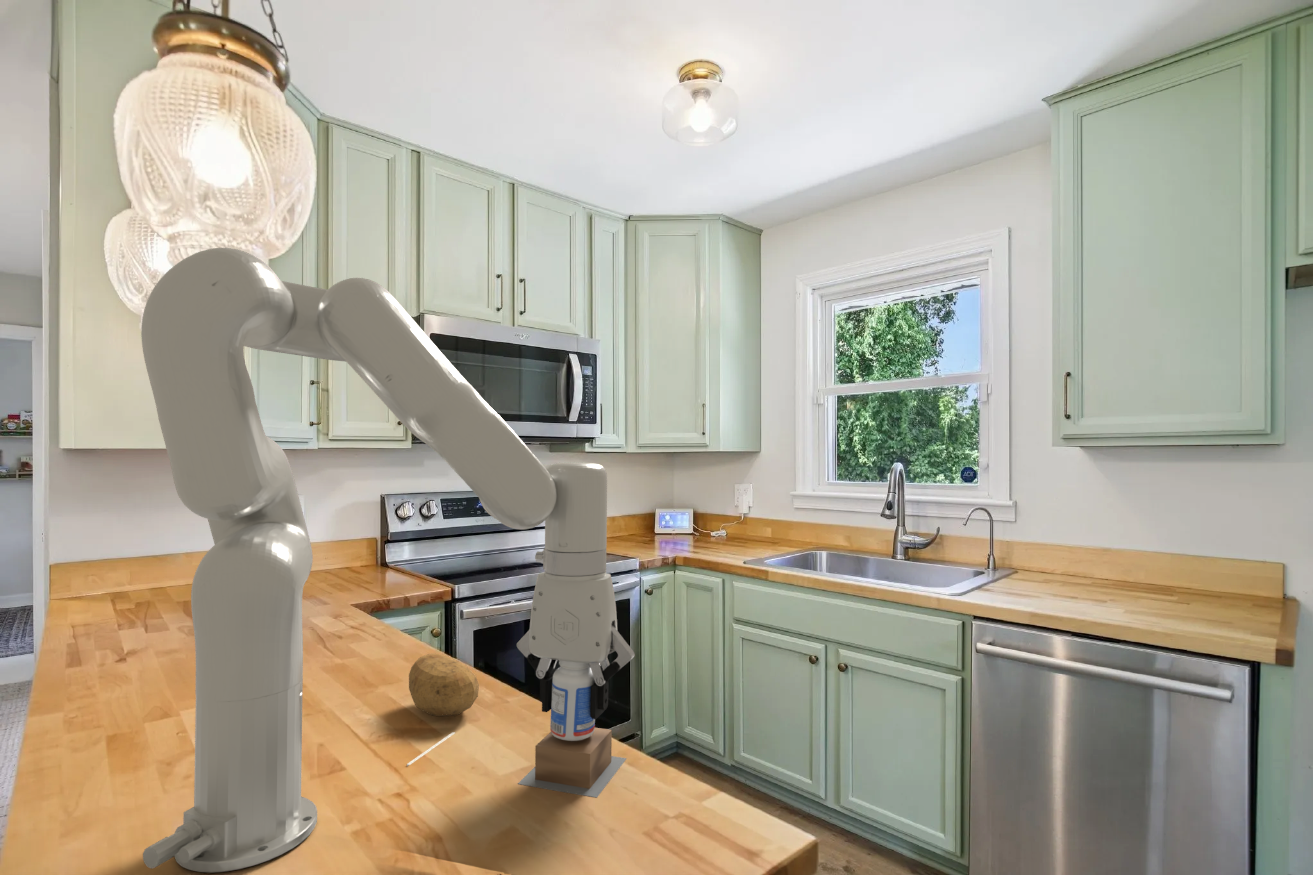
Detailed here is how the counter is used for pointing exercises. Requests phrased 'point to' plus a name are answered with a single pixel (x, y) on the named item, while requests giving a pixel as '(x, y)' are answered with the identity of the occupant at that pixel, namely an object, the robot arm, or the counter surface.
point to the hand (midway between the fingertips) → (573, 709)
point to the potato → (442, 685)
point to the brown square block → (573, 759)
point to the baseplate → (592, 792)
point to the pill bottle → (572, 701)
